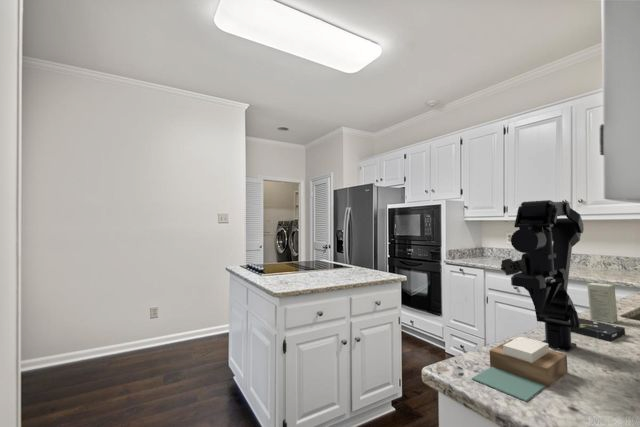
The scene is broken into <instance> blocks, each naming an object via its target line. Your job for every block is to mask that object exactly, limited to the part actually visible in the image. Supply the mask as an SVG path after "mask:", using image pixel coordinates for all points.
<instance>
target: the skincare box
mask: <svg viewBox="0 0 640 427" xmlns="http://www.w3.org/2000/svg"><path fill="white" fill-rule="evenodd" d="M587 295H588V306H589V308H588V309H589V318H590V319H589V320H592V321H598V322H603V323H610V324H614V323H616V322H618V321H619V320H618V310H617V300H616V299H617V298H616V288H615V284H611V283H610V284H609V283H599V282H590V283H587Z"/></svg>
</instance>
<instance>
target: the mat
mask: <svg viewBox="0 0 640 427" xmlns="http://www.w3.org/2000/svg"><path fill="white" fill-rule="evenodd" d="M471 380H472V381H475V382H477V383H479V384H482V385H484V386H487V387H490V388H492V389H494V390H497V391H500V392H501V393H504V394H506V395H509V396H511V397H514V398H516V399H518V400H521V401H522V402H523V401H524V402H526V403H527V402H528V401H530V399H532V398H533V397H535V396H536V395H537V394H538V393H540V392H541V391H542V390H543V389H545V388H546V387H545V385H543V384H540V383H537V382H534V381H532V380H529V379H526V378H523V377H520V376H518V375H515V374H512V373H509V372H506V371H504V370H501V369H498V368H495V367H490V366H489V368H487V369H485V370H484V371H482V372H480V373H478V374H477V375H476V374H475V375H474V376H473V377H472V378H471Z"/></svg>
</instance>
